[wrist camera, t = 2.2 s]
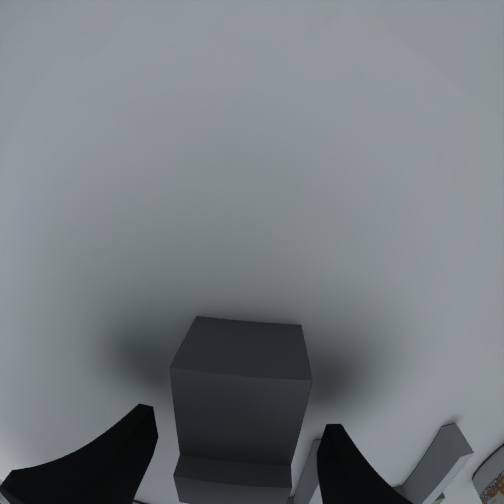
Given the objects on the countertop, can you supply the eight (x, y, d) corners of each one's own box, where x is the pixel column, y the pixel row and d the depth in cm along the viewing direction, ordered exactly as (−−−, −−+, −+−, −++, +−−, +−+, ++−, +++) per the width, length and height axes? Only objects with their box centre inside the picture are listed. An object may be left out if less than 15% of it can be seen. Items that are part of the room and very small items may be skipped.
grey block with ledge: (200, 427, 14) (179, 501, 9) (197, 314, 13) (157, 389, 7) (281, 434, 14) (283, 512, 9) (300, 323, 12) (317, 405, 7)
